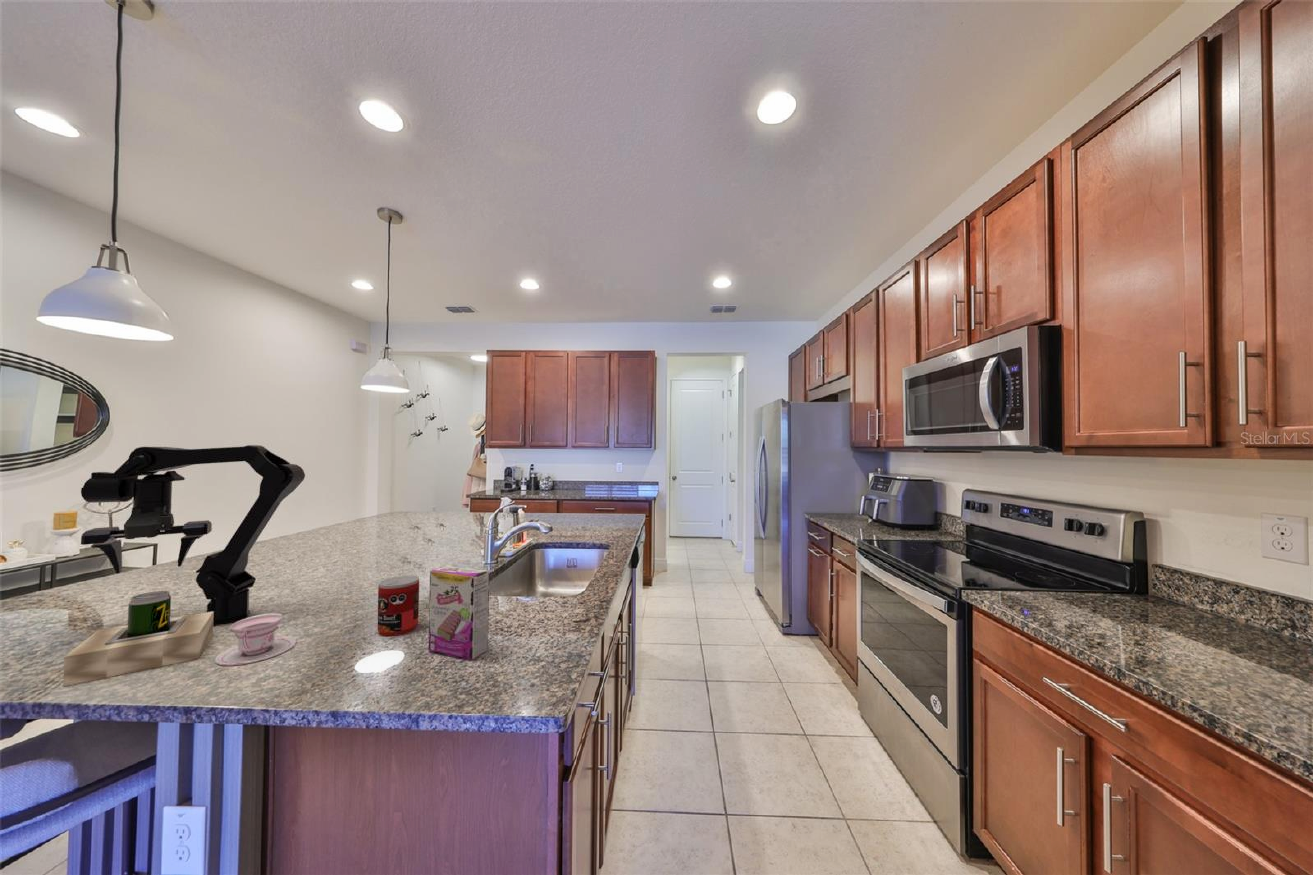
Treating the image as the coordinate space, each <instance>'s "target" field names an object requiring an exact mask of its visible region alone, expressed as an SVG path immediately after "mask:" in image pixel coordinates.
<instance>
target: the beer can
mask: <svg viewBox="0 0 1313 875" xmlns="http://www.w3.org/2000/svg"><path fill="white" fill-rule="evenodd" d="M171 607H172V596H171V595H170V591H168V590H158V591H151V592H145V593H144V592H143V593H140V594H136V595H134V596H131V597H130V601H129V603H128V608H127V609H128V610H127V611H128V612H127V625H128V630H127V638H131V637H137V636H142V635H148V634H154V633H160V632H166V631H169V630H170V618H171Z"/></svg>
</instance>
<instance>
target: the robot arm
mask: <svg viewBox="0 0 1313 875" xmlns="http://www.w3.org/2000/svg"><path fill="white" fill-rule="evenodd" d="M238 462H245V463H247V464H248V465H249V467H251V468H252V469H253V471H254V472H255V473H256V474H258V475H259V476H261V477H262V479H261V481H260V484H259V494H258V496H257V498H256V500H255V501H254V503H253V505H251V507H250V509H249V510H248V512H247V514H246V515H245V516H244V518H243V519H242V521H241V523H240V525H239V526H238V527H237V529H236V531H235V532H234V533H233V535H232V537H231V538H230V540H229V541H228V542H227V544H226V546H225V547H224V549H223V550H220V551H218V552H217V551H216V552H215V553H213V554H209V555H206V556H205V558H204V559H203V562H202V564H201V566H200V567H199V569H197V570H196V571H195V573H196V574H197V575H196V577H195V582H196V583H197V585H198V587H199V588H200V589H201V590H202V592H203V594H204V597H205V599H206V600H209V601H208V603H207V605H206V612H212V611H214V619H213V626H216V625H217V626H218V625H223V624H227V623H233V622H234V623H235V622H238V621H240V620H242V619H245V618H249V615H250V614H251V610H250V589H251V588H252V587H253V586H254V585H255V583H256V579H257V578H256V577H255V576H254V575H252V574H250V573H249V572H248V571H247V570H246V568H247V566H248V563H249V562H248V561H249V553H250V551H251V550H252V548H253V546H254V545H255V543H256V542H257V540H258V539H259V537H260V536H261V534H262V532H263V531H264V530H265V528H266V526H267V524H268V523H269V521H270V520H271V518H272V517H273V515H274V514H275V512H276V511H277V509H278V507H279V506H280V505H281V502H283V500H284V499H286V498H287V497H288V496H289V495H290V494H292V493H293V492H294V491H295V490H296V489H297V488H298V487H299V486H300V485H301V483H302V482H303V481H304V480H305V477H306V473H305V472H304V469H303V468H302V467H301V466H299V465H298V464H296V463H290V462H289V461H288V460H286V459H284V458H283V457H281V456H279V455H277V454H275V453H274V452H272V451H270V450H269V449H267V448H266V447H265V446H263V445H260V444H259V445H256V444H250V445H249V444H247V445H244V446H243V445H242V446H230V447H214V448H213V447H211V448H192V449H191V448H182V447H173V446H172V447H170V446H169V447H168V446H140V447H136V448H134V450H133V451H131V452H130V454H129V455H128V459H127V460H125V461H124V463H122V464H121V466H119V467H118V468H117V469H116V470H115V471H113V472H108V471H97V472H91V475H90V477H89V479H87V480H86V481H85V482H84V484H83V486H82V487H81V489H80V494H81V497H82V499H83V501H85V502H86V503H91V504H92V503H94V504H95V503H96V504H97V503H127V502H129V501H130V500H132V499H133V501H132V503H133V504H132V508H131V513H130V516H129V517H128V518H127V520H126V521H125V523H124V524H123V529H120V527H119V526H107V527H106V526H105V527H104V526H103V527H94V528H92V529H88V530H86V531H84V532H83V533H82V534H81V537H80V545H90V547H91V548H92V549H95V548H98V549H99V550H100V551H102V552H103V553H104V554H105V556H106V557H107V559H108V560H109V562H110V564H111V566H112V567H113V569H114V571H115V573H116V574H121V572H122V569H123V568H122V567H123V554H122V539H125V540H135V539H139V538H141V539H142V538H149V539H150V538H155V537H158V536H161V535H163V536H164V535H174V534H183V536H182V537H181V538H180V548H179V553H178V559H177V567H181V566H182V565H183V563H184V561H185V559H186V557H187V555H188V553H189V551H190V549H191V548H192V546H193V545H194V542H195V541H196V540H199V539H201V538H202V537H203V536H205V535H208V534H210V533H211V532H212V530H213V527H212V526H213V524H212V522H211V521H210V520H208V519H207V520H206V519H205V520H195V521H187V522H186V523H184V524H183V525H175V519H174V514H173V513H172V496H173V495H172V493H173V482H182V481H184V480H186V478H185V477H184V476H182V475H181V474H179V473H178V472H176V470H177V469H182V468H186V467H189V466H194V465H205V464H221V463H222V464H223V463H238ZM165 471H166V472H165ZM159 472H164V473H159ZM140 476H141V477H143V476H144V477H143V478H139V477H140Z"/></svg>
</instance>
